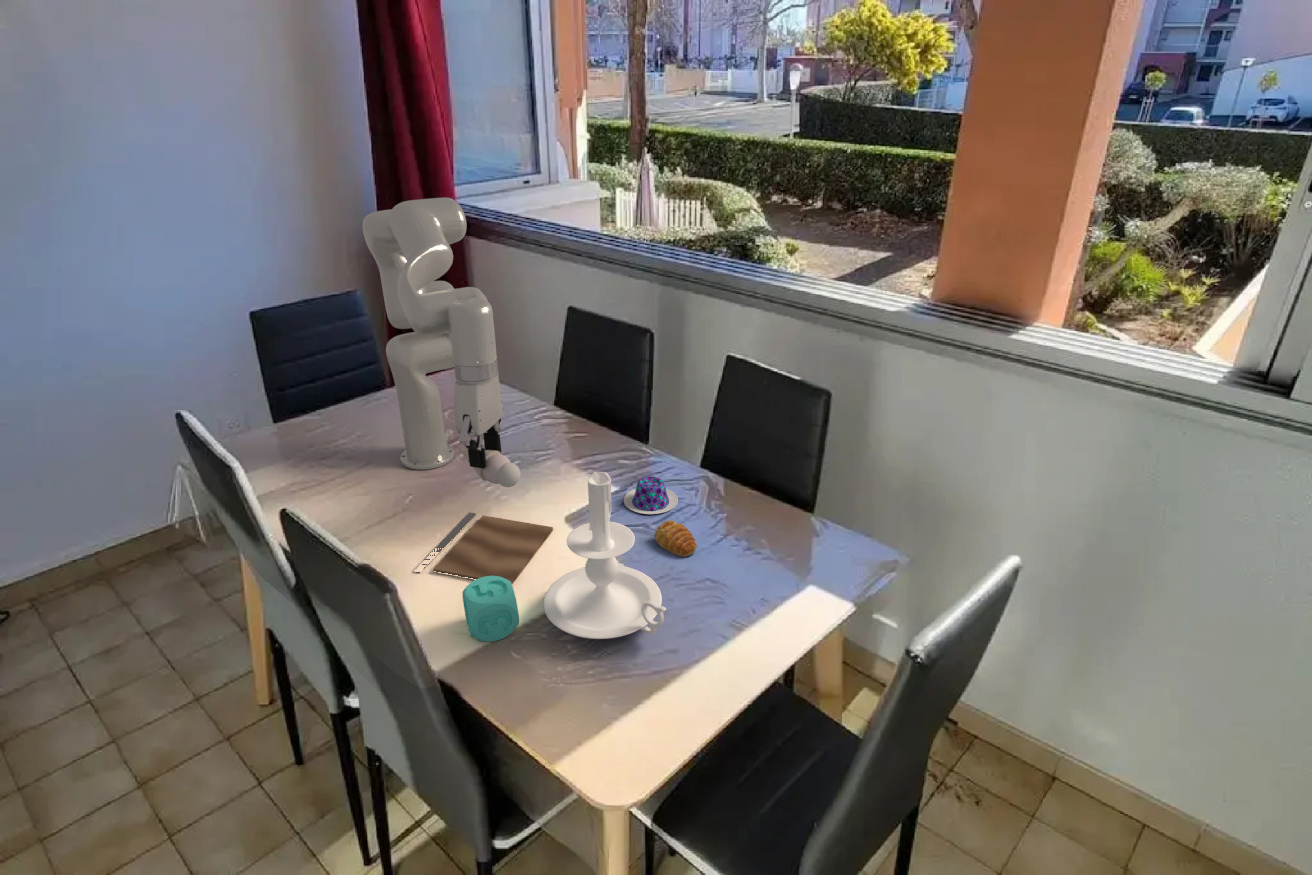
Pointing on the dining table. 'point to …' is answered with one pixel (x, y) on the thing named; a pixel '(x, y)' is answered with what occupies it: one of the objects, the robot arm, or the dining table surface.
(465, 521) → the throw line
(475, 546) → the board
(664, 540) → the pastry
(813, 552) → the dining table surface
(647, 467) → the dining table surface
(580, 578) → the candlestick
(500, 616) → the decorative dice
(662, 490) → the pudding
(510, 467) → the ice cream cone
